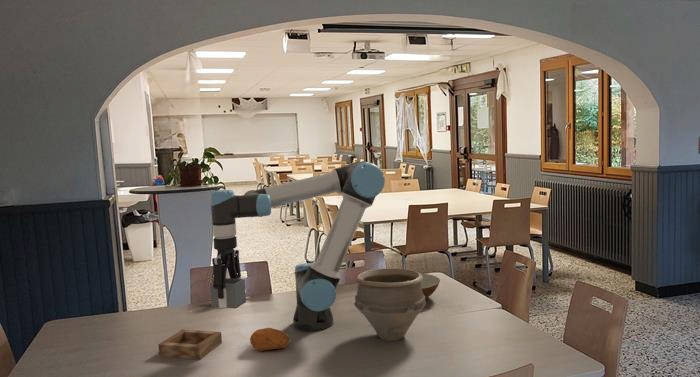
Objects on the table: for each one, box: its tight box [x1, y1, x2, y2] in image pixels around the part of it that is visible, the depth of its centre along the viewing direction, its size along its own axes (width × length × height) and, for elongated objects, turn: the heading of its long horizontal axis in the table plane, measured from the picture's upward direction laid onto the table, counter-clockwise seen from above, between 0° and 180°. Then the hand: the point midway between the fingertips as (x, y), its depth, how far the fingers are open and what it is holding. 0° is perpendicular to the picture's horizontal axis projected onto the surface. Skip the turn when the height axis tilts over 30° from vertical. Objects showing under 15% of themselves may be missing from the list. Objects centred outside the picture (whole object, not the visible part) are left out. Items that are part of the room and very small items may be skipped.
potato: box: [249, 327, 290, 352], centre depth 172 cm, size 7×13×7 cm, turn 86°
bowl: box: [419, 272, 441, 300], centre depth 219 cm, size 25×25×8 cm
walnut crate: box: [157, 329, 223, 360], centre depth 175 cm, size 15×14×4 cm
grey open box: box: [209, 278, 247, 310], centre depth 173 cm, size 9×7×8 cm
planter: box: [353, 267, 427, 342], centre depth 178 cm, size 25×24×22 cm
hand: (229, 303), depth 174 cm, fingers closed on grey open box, 7 cm apart
